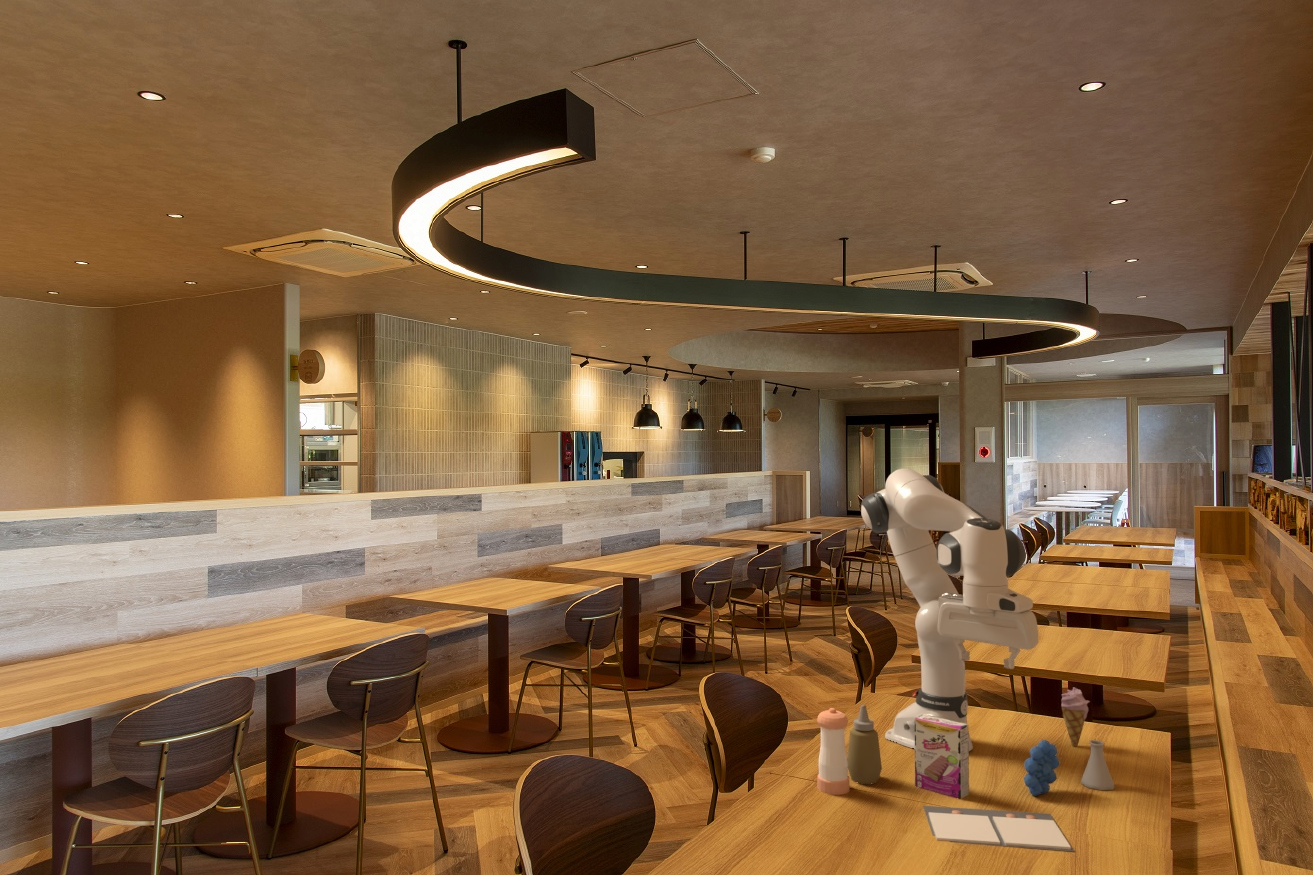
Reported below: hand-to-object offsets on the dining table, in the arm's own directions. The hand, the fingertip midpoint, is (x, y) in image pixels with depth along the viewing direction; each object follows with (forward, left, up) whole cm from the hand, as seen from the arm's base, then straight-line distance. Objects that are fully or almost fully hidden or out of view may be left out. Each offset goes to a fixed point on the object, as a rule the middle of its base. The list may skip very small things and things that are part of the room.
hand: (986, 664), depth 175 cm
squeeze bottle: (-32, +4, -34) cm, 47 cm away
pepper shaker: (-34, -6, -34) cm, 49 cm away
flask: (+8, +40, -34) cm, 53 cm away
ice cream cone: (-5, +64, -34) cm, 73 cm away
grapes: (0, +26, -34) cm, 43 cm away
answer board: (+1, 0, -34) cm, 34 cm away
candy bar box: (-16, +11, -34) cm, 39 cm away
